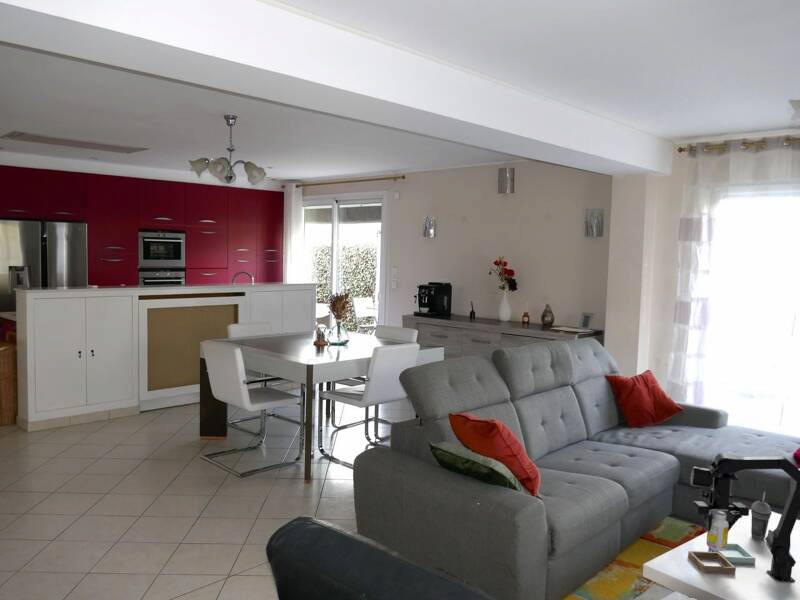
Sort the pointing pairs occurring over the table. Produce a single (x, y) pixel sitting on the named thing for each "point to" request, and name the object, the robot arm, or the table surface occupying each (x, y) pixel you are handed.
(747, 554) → the tray
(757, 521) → the beverage cup
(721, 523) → the supplement bottle
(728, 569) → the brown wooden square frame
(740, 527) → the table surface
